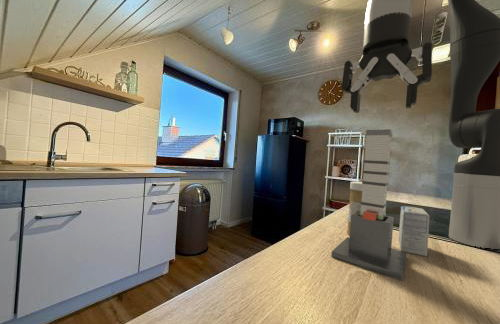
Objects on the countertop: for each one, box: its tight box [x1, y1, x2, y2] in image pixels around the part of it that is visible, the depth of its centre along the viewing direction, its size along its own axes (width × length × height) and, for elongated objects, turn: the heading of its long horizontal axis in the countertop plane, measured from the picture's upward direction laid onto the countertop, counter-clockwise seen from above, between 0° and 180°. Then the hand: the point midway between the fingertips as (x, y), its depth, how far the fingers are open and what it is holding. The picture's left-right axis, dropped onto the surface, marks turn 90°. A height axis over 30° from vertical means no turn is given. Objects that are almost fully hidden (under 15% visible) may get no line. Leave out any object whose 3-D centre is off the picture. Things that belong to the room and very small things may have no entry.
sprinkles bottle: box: [346, 181, 363, 236], centre depth 53 cm, size 5×5×14 cm
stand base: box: [331, 211, 408, 281], centre depth 41 cm, size 11×11×9 cm
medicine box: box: [398, 205, 430, 257], centre depth 47 cm, size 8×4×9 cm, turn 148°
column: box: [360, 128, 393, 221], centre depth 41 cm, size 4×4×17 cm
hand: (380, 110), depth 40 cm, fingers open, 8 cm apart
